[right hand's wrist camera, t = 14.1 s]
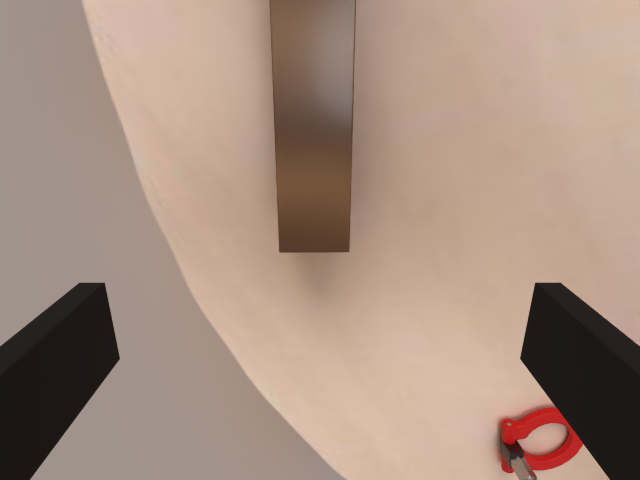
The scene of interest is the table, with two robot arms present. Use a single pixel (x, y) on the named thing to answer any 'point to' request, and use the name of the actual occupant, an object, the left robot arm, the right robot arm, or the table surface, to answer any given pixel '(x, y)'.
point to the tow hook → (526, 463)
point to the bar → (313, 121)
